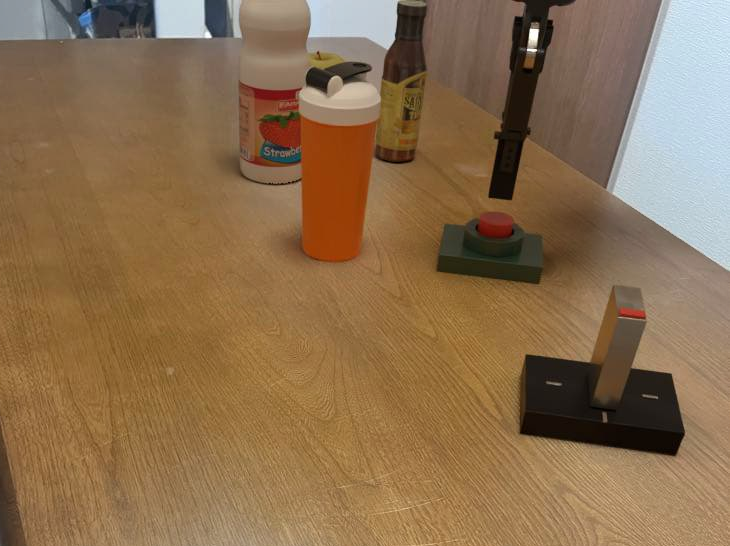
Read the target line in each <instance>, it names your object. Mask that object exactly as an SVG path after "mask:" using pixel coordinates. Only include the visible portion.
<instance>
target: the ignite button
mask: <svg viewBox="0 0 730 546" xmlns="http://www.w3.org/2000/svg"><path fill="white" fill-rule="evenodd" d="M478 218H479V224H478V230H477V231H478V232H479V233H480V234H482V235H485V236H487V237H492V238H507V237H510V236H511V234H512V229H513V224H514V223H515V219H514V217H513V216H511V215H510V214H507V213H505V212H502V211H485V212H483V213H481V214H480V215H479V217H478Z"/></svg>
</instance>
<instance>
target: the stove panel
mask: <svg viewBox="0 0 730 546" xmlns="http://www.w3.org/2000/svg"><path fill="white" fill-rule="evenodd" d="M589 364H590V361H589V362H588V361H581V360H573V359H566V358H558V357H552V356H545V355H544V356H543V355H536V354H528V353H526V354H525V356H524V360H523V364H522V368H521V373H520V392H519V394H520V395H519V397H520V399H519V401H520V402H519V433H520V434H521V435H527V436H528V435H529V436H535V437H543V438H551V439H557V440H565V441H571V442H580V443H584V444H585V443H586V444H592V445H600V446H608V447H614V448H622V449H627V450H633V451H634V450H635V451H640V452H641V451H643V452H649V453H655V454H663V455H671V456H677V455H678V452H679V449H680V447H681V445H682V442H683V439H684V437H685V435H686V431H685V426H684V422H683V418H682V413H681V409H680V405H679V399H678V396H677V395H678V394H677V391H676V386H675V381H674V377H673V373H670V372H666V371H656V370H649V369H640V368H634V367H631V370H630V373H629V376H628V379H627V382H626V385H625V388H624V391H623V394H622V397H621V400H620V403H619V406H618V409H617V410H611V409H603V408H596V407H590V398H589V386H588V375H587V371H588V367H589Z"/></svg>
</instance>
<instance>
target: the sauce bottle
mask: <svg viewBox="0 0 730 546" xmlns="http://www.w3.org/2000/svg"><path fill="white" fill-rule="evenodd" d="M427 10H428V3H426V2H424V1H421V0H398V1H397V3H396V24H395V25H396V26H395V32H394V40H393V42H392V44H391V45H390V47H389V48H388V50H387V51H386V53H385V56H384V60H383V68H382V76H381V82H380V91H379V95H380V97H381V107H380V117H379V119H378V120H377V126H376V134H375V142H374V143H375V150H374V151H375V152H374V153H375V155H376V156H377V157H378V158H379V159H381V160H385V161H389V162H408V161H411V160H412V159H414V157H415V154H416V149H417V148H418V144H419V143H418V142H419V136H420V127H421V119H422V112H423V106H424V105H423V103H424V97H425V88H426V81H427V76H428V75H427V74H428V70H427V69H428V67H427V61H426V55H425V50H424V44H423V39H424V36H423V34H424V33H423V32H424V24H425V19H426V16H427V12H428V11H427Z"/></svg>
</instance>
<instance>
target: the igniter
mask: <svg viewBox="0 0 730 546" xmlns="http://www.w3.org/2000/svg"><path fill="white" fill-rule="evenodd" d="M479 218H480V217H478V218H477V217H476V218H473V219H470V220H469V221H467V222H466V223H465V225H461V224H453V223H444V224H443V229H442V234H441V242H440V246H439V252H438V259H437V265H436V266H437V267H436V272H437V273H445V274H452V275H453V274H455V275H462V276H467V277H468V276H469V277H477V278H484V279H485V278H486V279H493V280H499V281H500V280H502V281H508V282H516V283H524V284H532V285H540V283H541V277H542V274H543V269H544V254H543V253H544V252H543V235H542V234H535V233H528V232H525V229H524V228H523V227H522V226H520V225H519V224H518V223H515V222H514V224H513V229H512V234H511V236H510V237H507V238H492V237H487V236H485V235H482V234H480V233H479V232H478V231H477V230H478V224H479Z"/></svg>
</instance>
